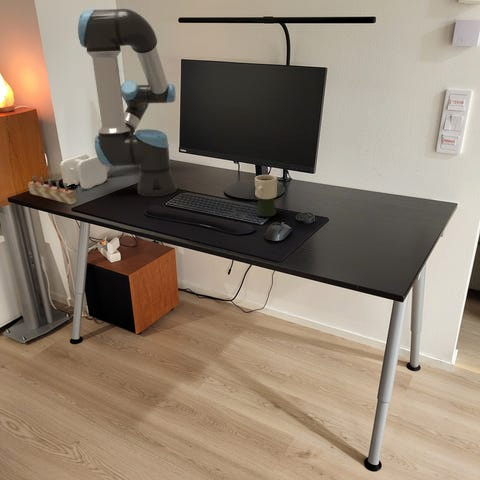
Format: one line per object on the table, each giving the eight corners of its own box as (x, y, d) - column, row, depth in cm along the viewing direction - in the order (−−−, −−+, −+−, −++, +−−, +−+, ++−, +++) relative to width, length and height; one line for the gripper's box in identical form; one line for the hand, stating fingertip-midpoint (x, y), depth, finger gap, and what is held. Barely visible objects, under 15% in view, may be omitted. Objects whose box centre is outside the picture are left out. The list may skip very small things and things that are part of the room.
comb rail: (76, 202, 182) (73, 183, 179) (71, 204, 180) (67, 185, 177) (35, 191, 196) (31, 173, 193) (30, 193, 194) (26, 175, 191)
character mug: (263, 208, 169) (262, 172, 164) (282, 211, 166) (282, 174, 161) (249, 219, 160) (248, 181, 155) (269, 222, 157) (268, 183, 152)
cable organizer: (83, 192, 194) (78, 163, 189) (63, 189, 198) (57, 161, 194) (108, 181, 206) (104, 154, 201) (89, 179, 211) (84, 152, 206)
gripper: (143, 131, 213) (119, 178, 208) (123, 129, 220) (99, 174, 215) (132, 121, 207) (107, 169, 202) (112, 119, 214) (87, 165, 209)
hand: (103, 172), depth 208 cm, fingers closed
